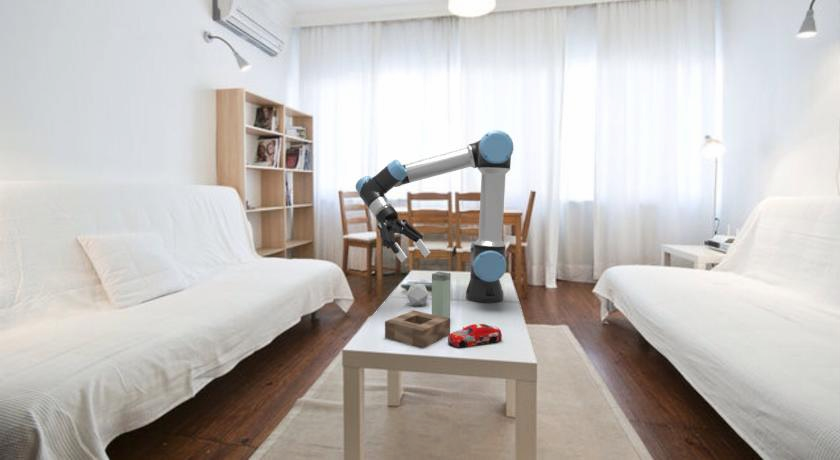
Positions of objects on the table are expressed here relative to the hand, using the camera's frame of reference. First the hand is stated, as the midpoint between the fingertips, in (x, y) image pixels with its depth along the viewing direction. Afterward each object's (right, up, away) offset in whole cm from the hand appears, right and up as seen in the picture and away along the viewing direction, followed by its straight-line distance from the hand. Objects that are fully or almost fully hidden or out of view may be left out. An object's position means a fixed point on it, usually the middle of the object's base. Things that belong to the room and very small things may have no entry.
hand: (416, 257), depth 146 cm
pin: (+8, -21, -4) cm, 23 cm away
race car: (+17, -23, -24) cm, 37 cm away
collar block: (+1, -22, -19) cm, 29 cm away
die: (0, -19, +16) cm, 25 cm away
